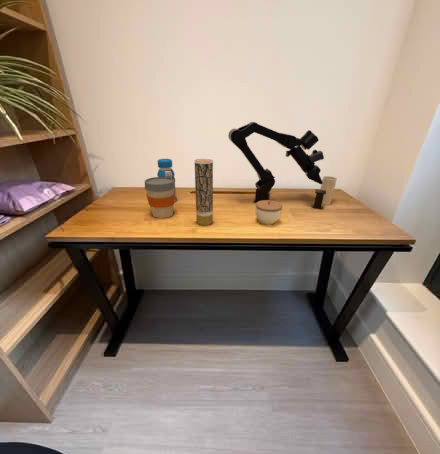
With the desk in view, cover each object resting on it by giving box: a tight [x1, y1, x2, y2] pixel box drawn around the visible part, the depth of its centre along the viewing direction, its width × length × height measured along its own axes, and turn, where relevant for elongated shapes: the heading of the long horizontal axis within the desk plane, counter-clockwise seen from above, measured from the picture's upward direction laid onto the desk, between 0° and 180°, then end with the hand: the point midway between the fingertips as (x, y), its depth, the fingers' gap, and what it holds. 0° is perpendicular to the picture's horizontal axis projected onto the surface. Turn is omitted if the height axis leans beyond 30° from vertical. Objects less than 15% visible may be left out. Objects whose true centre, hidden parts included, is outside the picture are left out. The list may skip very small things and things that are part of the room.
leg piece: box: [312, 188, 326, 210], centre depth 121 cm, size 5×5×8 cm
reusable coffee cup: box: [144, 176, 176, 219], centre depth 109 cm, size 13×13×15 cm
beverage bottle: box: [156, 158, 177, 202], centre depth 123 cm, size 8×8×20 cm
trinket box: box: [255, 199, 283, 226], centre depth 104 cm, size 11×11×9 cm
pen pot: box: [319, 175, 337, 205], centre depth 126 cm, size 6×6×12 cm
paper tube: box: [194, 158, 214, 226], centre depth 99 cm, size 7×7×25 cm
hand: (319, 181), depth 124 cm, fingers open, 9 cm apart
